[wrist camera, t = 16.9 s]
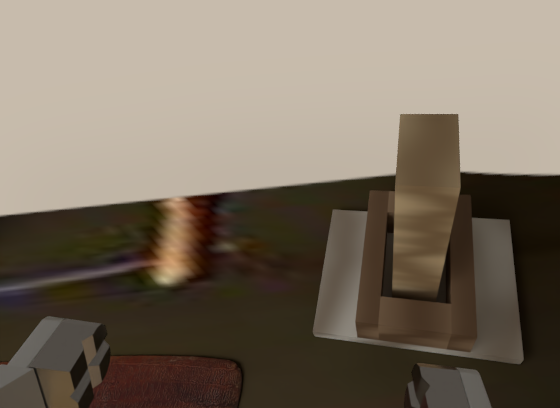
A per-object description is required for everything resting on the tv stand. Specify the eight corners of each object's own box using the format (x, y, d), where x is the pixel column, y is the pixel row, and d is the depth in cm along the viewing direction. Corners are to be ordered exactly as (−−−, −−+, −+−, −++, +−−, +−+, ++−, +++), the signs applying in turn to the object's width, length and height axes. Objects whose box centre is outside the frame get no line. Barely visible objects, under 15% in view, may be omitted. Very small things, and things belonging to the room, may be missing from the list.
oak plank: (391, 302, 33) (395, 184, 22) (395, 244, 36) (400, 114, 25) (434, 307, 32) (460, 187, 21) (435, 247, 35) (458, 114, 24)
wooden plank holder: (314, 336, 34) (307, 315, 30) (334, 216, 40) (329, 188, 36) (520, 364, 30) (536, 344, 27) (506, 226, 36) (518, 197, 33)
